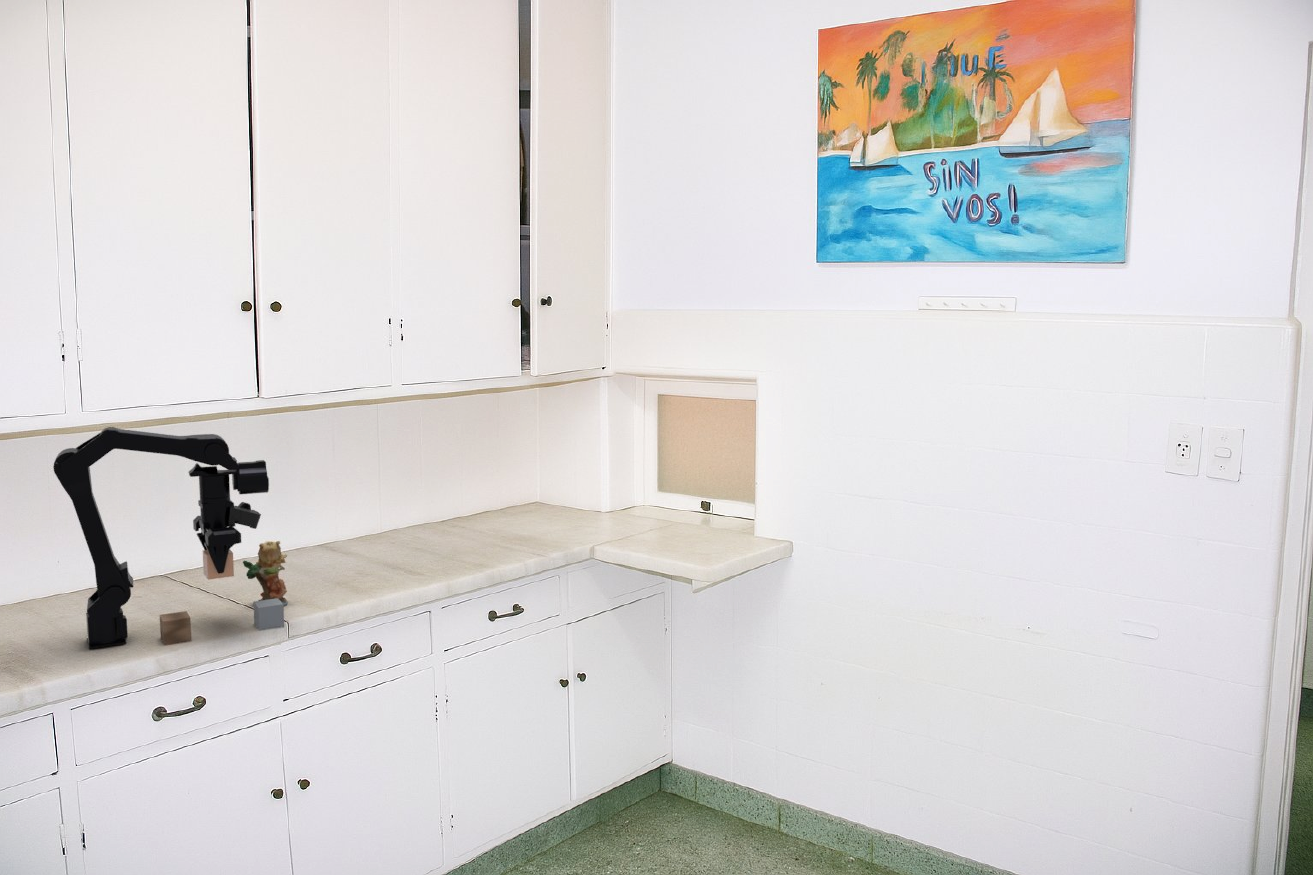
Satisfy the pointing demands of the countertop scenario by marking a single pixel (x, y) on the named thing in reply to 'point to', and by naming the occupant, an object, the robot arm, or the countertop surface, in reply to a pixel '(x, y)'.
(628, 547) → the countertop surface
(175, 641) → the walnut cube
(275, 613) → the slate cube
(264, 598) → the figurine
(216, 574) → the terracotta cube
